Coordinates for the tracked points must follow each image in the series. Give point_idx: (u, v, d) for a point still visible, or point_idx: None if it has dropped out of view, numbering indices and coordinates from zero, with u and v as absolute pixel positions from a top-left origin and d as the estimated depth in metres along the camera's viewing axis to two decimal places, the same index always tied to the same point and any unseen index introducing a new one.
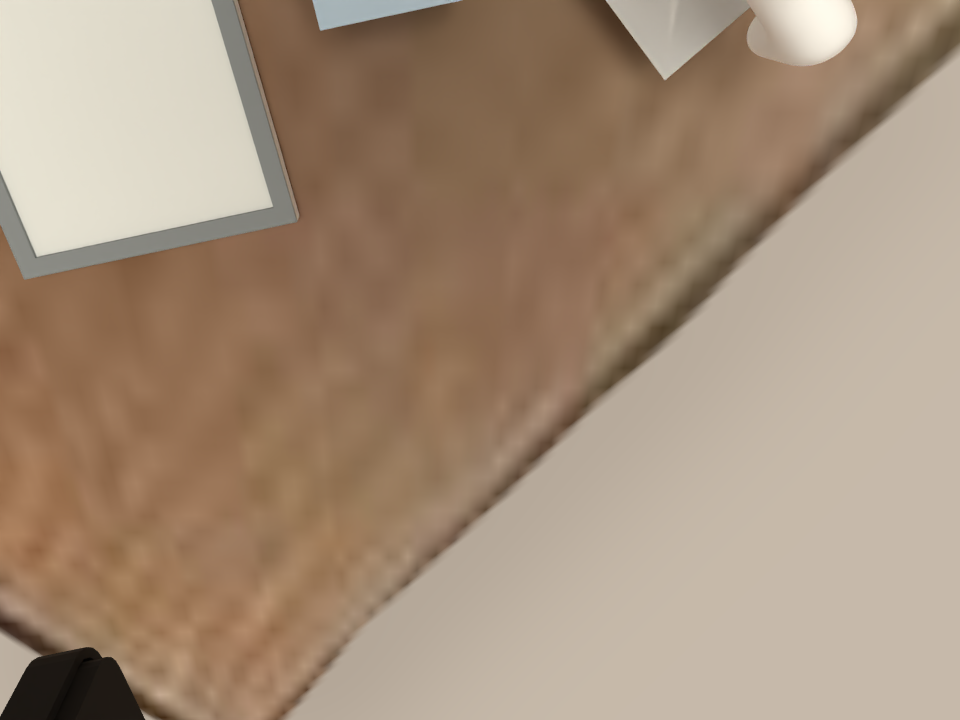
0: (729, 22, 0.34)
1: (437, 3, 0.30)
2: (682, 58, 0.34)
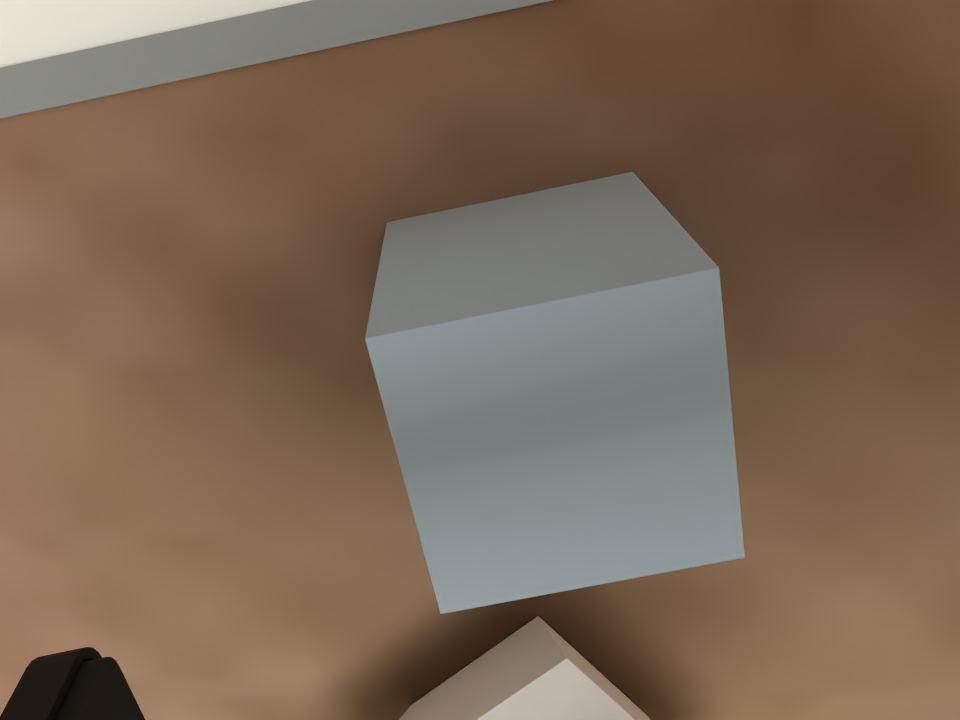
0: None
1: (432, 570, 0.14)
2: None
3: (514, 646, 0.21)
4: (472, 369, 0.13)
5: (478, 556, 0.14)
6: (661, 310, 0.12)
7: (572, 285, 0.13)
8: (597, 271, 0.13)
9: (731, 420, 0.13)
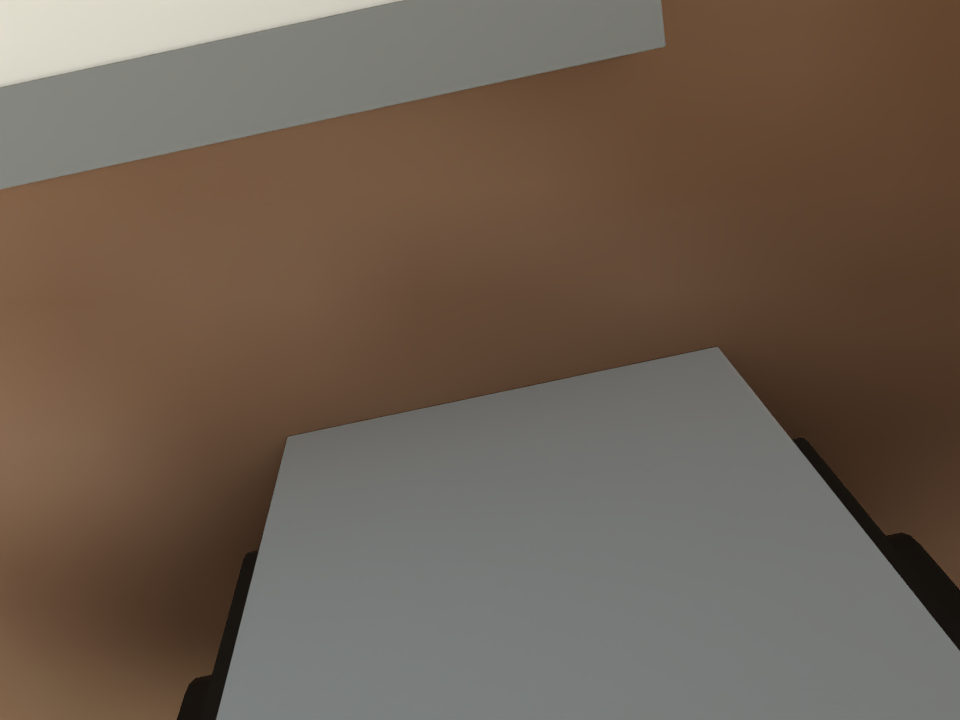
0: None
1: None
2: None
3: None
4: None
5: None
6: None
7: None
8: None
9: None
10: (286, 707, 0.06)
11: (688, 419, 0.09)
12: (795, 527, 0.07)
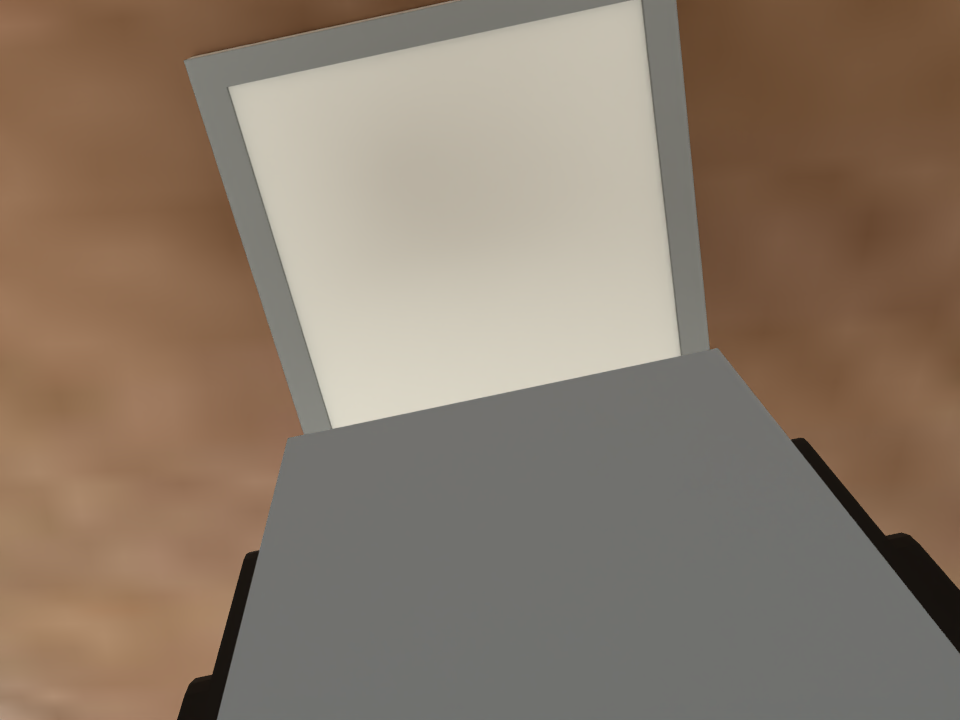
0: None
1: None
2: None
3: None
4: None
5: None
6: None
7: None
8: None
9: None
10: (286, 710, 0.06)
11: (688, 421, 0.09)
12: (795, 529, 0.07)
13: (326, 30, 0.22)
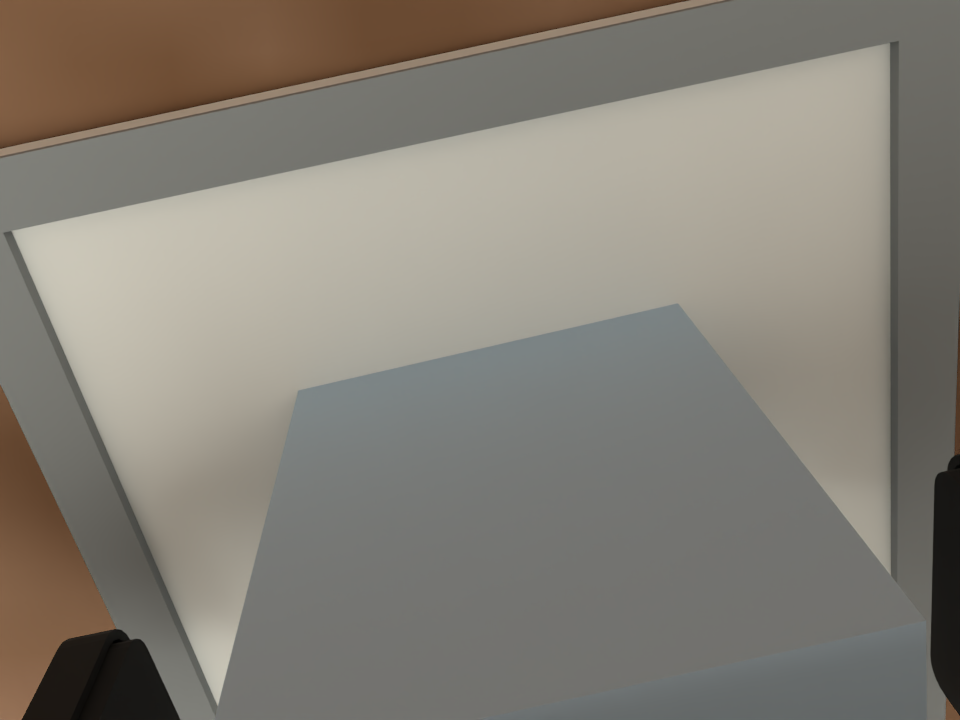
0: None
1: None
2: None
3: None
4: None
5: None
6: (805, 698, 0.06)
7: (618, 640, 0.06)
8: (662, 594, 0.07)
9: None
10: (302, 590, 0.08)
11: (647, 362, 0.10)
12: (729, 441, 0.08)
13: (214, 112, 0.10)
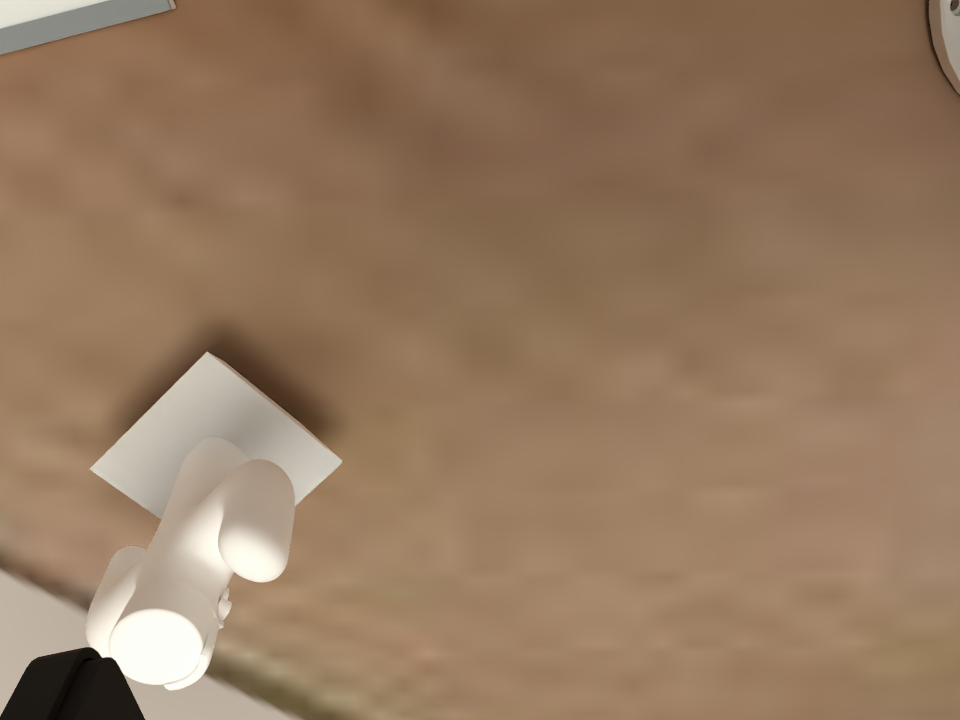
0: (152, 511, 0.37)
1: None
2: (112, 480, 0.37)
3: None
4: None
5: None
6: None
7: None
8: None
9: None
10: None
11: None
12: None
13: None
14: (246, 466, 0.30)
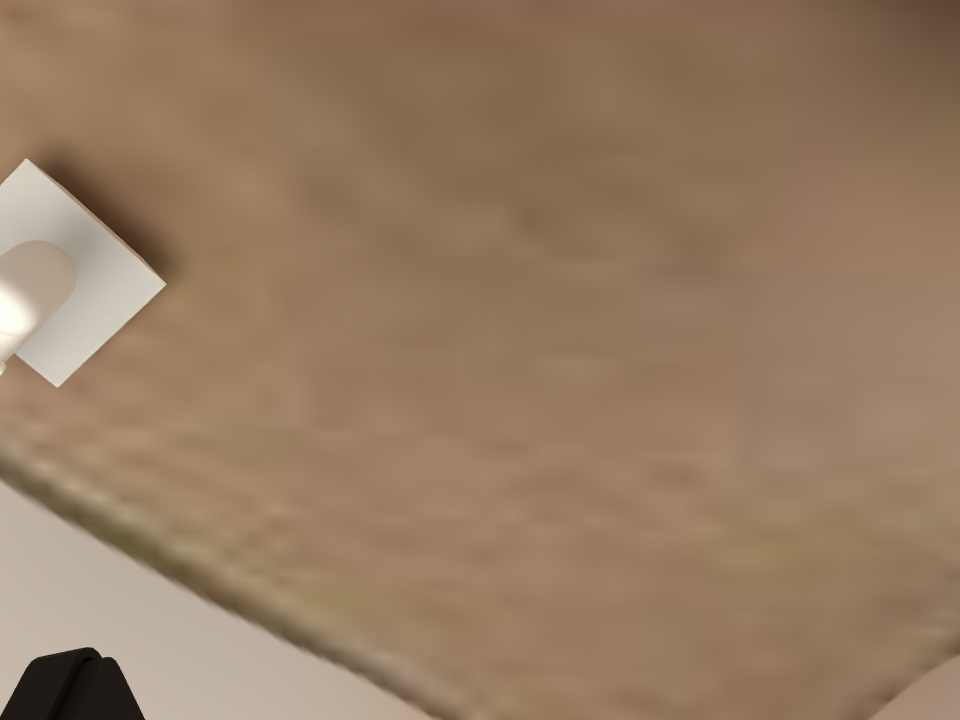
0: None
1: None
2: None
3: None
4: None
5: None
6: None
7: None
8: None
9: None
10: None
11: None
12: None
13: None
14: (24, 242, 0.30)
